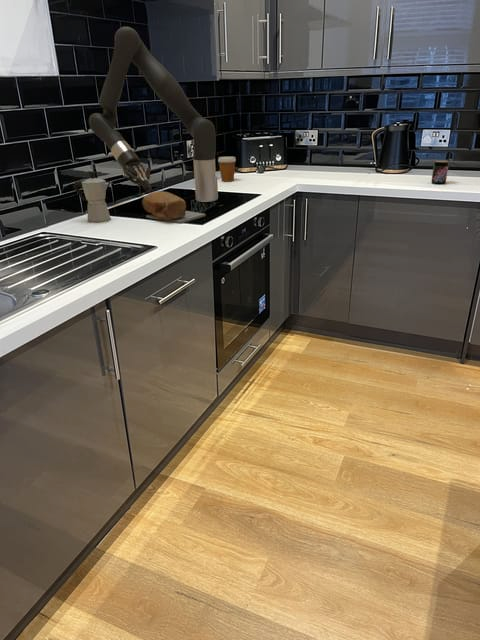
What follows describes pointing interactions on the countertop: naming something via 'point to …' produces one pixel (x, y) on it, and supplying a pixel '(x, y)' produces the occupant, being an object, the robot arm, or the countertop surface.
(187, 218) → the mat
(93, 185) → the coffee maker
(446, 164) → the supplement container
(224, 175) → the disposable coffee cup
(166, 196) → the block
